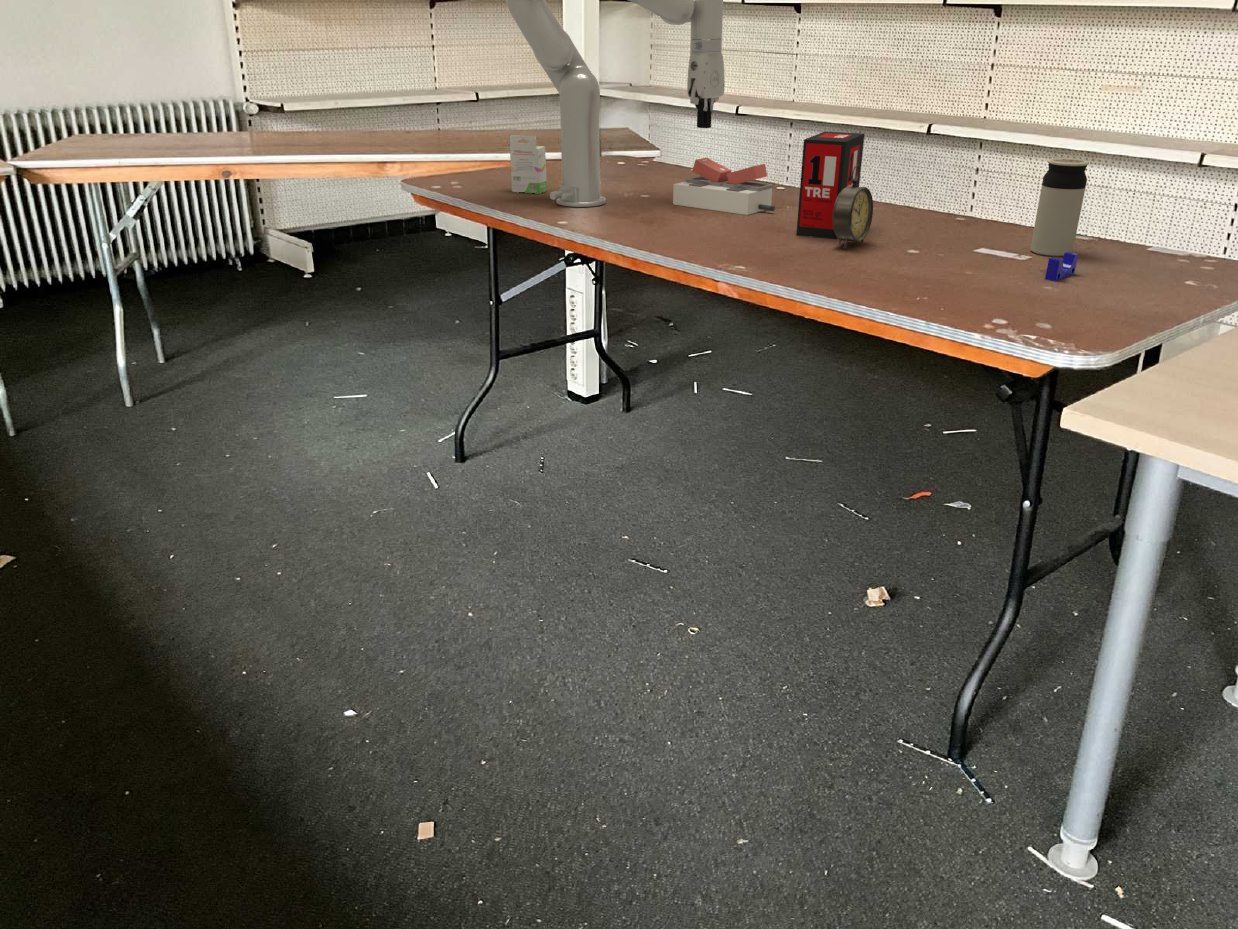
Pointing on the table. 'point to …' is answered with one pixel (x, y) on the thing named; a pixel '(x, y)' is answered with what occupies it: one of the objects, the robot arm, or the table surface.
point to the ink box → (527, 165)
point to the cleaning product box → (826, 179)
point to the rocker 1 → (711, 170)
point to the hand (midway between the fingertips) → (703, 127)
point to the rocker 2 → (747, 174)
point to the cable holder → (1061, 266)
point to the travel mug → (1059, 207)
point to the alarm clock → (853, 213)
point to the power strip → (724, 196)
